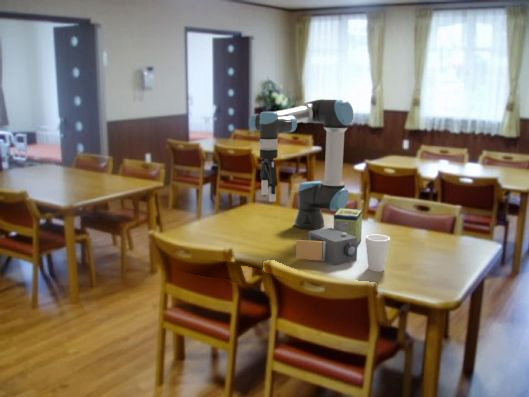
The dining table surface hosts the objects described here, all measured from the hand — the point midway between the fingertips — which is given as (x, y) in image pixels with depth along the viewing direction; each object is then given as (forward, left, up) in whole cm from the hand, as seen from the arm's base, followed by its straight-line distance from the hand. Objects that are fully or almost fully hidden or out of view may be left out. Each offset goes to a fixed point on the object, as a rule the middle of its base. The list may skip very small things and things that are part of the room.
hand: (268, 198), depth 232 cm
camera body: (-20, +20, -25) cm, 37 cm away
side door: (-8, +20, -23) cm, 32 cm away
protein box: (-37, +10, -25) cm, 45 cm away
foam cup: (-26, +41, -25) cm, 54 cm away
